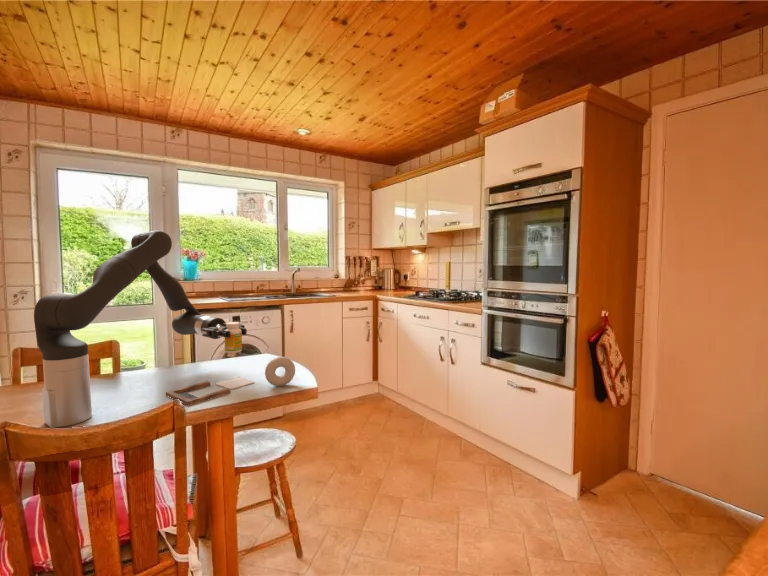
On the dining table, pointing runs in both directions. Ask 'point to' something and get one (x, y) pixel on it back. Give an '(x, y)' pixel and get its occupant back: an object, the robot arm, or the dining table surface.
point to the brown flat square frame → (191, 399)
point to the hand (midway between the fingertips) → (237, 333)
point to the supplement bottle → (233, 338)
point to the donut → (286, 377)
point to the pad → (234, 383)
